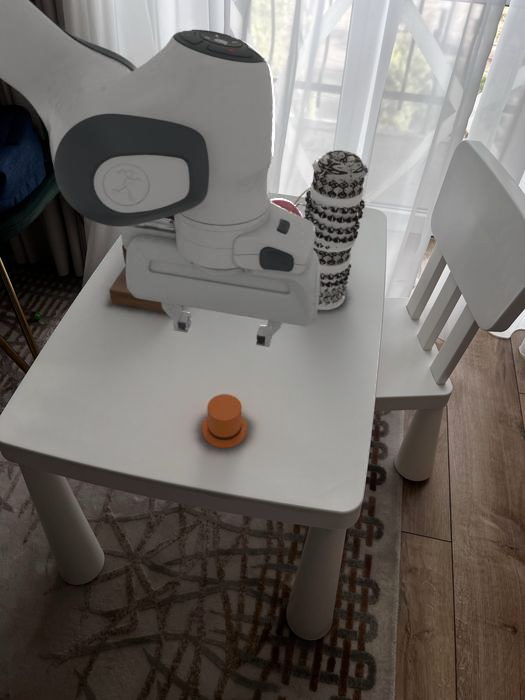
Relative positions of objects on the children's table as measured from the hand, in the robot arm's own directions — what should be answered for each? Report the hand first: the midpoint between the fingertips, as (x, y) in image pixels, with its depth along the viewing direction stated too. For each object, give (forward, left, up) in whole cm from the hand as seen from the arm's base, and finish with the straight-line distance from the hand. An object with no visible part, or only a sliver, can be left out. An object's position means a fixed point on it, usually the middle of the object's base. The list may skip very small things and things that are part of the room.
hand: (223, 335), depth 60 cm
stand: (+15, +34, -17) cm, 41 cm away
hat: (0, 0, -17) cm, 17 cm away
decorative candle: (+32, +11, -17) cm, 38 cm away
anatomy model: (+42, +27, -17) cm, 53 cm away
